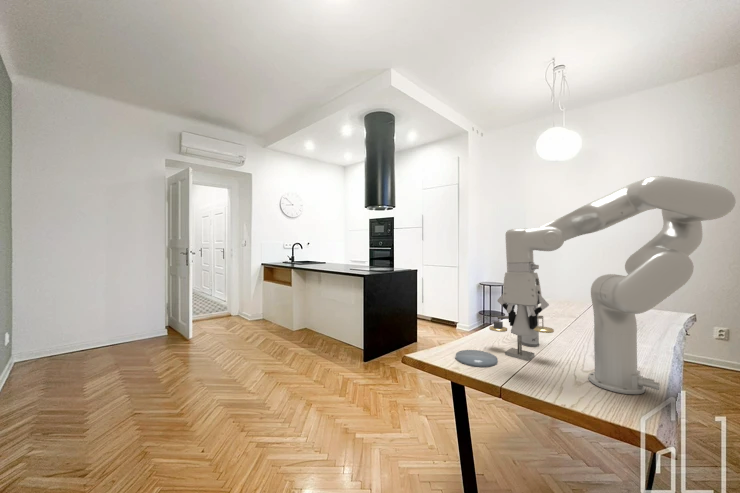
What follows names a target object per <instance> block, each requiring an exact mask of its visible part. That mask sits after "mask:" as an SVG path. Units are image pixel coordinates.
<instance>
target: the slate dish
mask: <svg viewBox="0 0 740 493" xmlns="http://www.w3.org/2000/svg"><path fill="white" fill-rule="evenodd" d="M498 359H499V358H498V357H497V356H496V355H495V354H493V353H491V352H487V351H484V350H478V349H477V350H476V349H464V350H458V351H457V352H456V353H455V360H456V361H457V362H459V363H461V364H462V365H466V366H470V367H475V368H491V367H495V366H497V365H498V361H499V360H498Z"/></svg>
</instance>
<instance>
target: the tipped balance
mask: <svg viewBox="0 0 740 493" xmlns="http://www.w3.org/2000/svg"><path fill="white" fill-rule="evenodd" d="M537 319H539V320H540V319H541V320H542V322H541V323H542V326H540V325H539V326H536V328H534V330H535V331H537V332H539V333H543V334H551V333H554V332H555V330H554V328H551V327H548V326H544V315H538V316H537ZM501 320H509V318H508V315H504V316H501V315H498V316H497V320H495V321H493V325H490V326H488V327H489V330H490V331H492V332H498V333H505V332H508V328H507V327H506V326H504V324H503V321H501ZM516 336H517V343H516V344H517V345H516V346H517V348H515V347H510V348H509V349H506V350H505V352H504V354H505V356H508V357H512V358H517V359H519V360H520V359H521V360H525V361H530V360H531V359H533V358H534V357H535V355H536V354H535V352H532V351H528V350H525V349H524V350H523V344H522V336H519V335H516Z"/></svg>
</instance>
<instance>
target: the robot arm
mask: <svg viewBox="0 0 740 493" xmlns="http://www.w3.org/2000/svg"><path fill="white" fill-rule="evenodd" d="M735 206H736V196H735V195H734V193H733V192H732V190H729V189H728V188H726V187H725V186H721V185H718V184H714V183H708V182H702V181H695V180H691V179H684V178H677V177H670V176H665V175H663V176H662V175H661V176H660V175H657V176H656V175H655V176H649V177H647V178H643V179H641V180H637V181H635V182H633V183H630V184H628V185H626V186H623V187H621V188H619V189H617V190H615V191H613V192H610V193H608V194H606V195H604V196H602V197H600V198H597V199H596V200H594V201H591V202H588V203H586V204H585V205H583V206H581V207H578V208H577V209H575V210H573V211H571V212H568V213H567V214H565V215H563V216H561V217H558V218H556V219H553V220H552V221H549V222H548V223H547V222H546V223H545V224H543V225H541V226H539V227H536V228H535V227H534V228H526V227H525V228H510V229H508V230H507V231H505V254H506V257H505V258H506V272H505V273H504V277H503V285H502V286H503V287H502V290H503V291H502V292H503V293H501V295H500V296H499V298H498V299H497V302H498V304H499V305H501V307H503V308H504V310H505V311H506V313H507V316H508V318H509V319H508V323H509V326H511V327H512V326H513V324H514V320H515V317H516V314H517V312H516V311H515V308H516V306H517V305H523V306H528V307H529V310H530V313H531V316H529V321H530V329H534V328H536V326H537V315H538V316H539V314H540V313H541V312H542V311H544V310H545V309H547V308H548V307H549V306H550V305H549V303H548V301H547V300H546V299H545V298H544V297H543V296H542V290H541V283H540V277H539V275H538V272H536V270H539V267H540V265H539V264H536V263H535V262H534V251H539V252H553V251H557V250H559V249H560V248H561V247H562V246H563V244H564V243H565V242H566V241H569V240H571V239H574V238H576V237H580V236H583V235H589V234H593V233H597V232H600V231H602V230H605V229H607V228H609V227H612V226H614V225H616V224H618V223H621V222H623V221H625V220H628V219H630V218H633V217H635V216H637V215H639V214H641V213H644V212H646V211H650V210H651V211H652V210H655V209H657V210H661V216H662V221H663V225H662V228H661V230H660V231H659V232H658V233H657V234H656V235H655V236H654V237H652V239H650V240H649V241H648V242H646V243H645V244H644V245H643V246H641V247H640V248H639V249H638V250H636V251H635V252H634V253H632V254H631V255H630V256H629V257H628V258H627V259H626V260H625V262H624V270H625V272H626V274H627V275H622V274H615V273H608V274H602V275H600V276H598V277H597V278H595V280H594V281H593V282H592V284H591V287H590V297H591V304H592V310H593V326H594V327H593V339H594V340H593V341H594V344H593V345H594V347H593V348H594V349H593V350H594V351H593V352H594V355H593V356H594V371H592V372H590V373H588V376H587V378H588V380H589V382H590V383H592V384H594V385H595V386H597V387H599V388H601V389H605V390H607V391H611V392H614V393H619V394H623V395H641V394H644V393H645V392H646V388H649V389H652V390H656V391H660V390H661V383H660V382H658V381H655V379H653V378H650V377H649V378H648V377H644V376H643V375H641V370H638V335H637V334H638V323H637V317H636V315H639V314H644V313H646V312H648V311H650V310H652V309H653V308H655V307H656V306H658V305H659V304H661V303H662V302H663V301H665V300H666V299H667V298H668V297H670V296H672V295H673V294H674V293H676V291H679V289H681V288H682V287H683V286H685V285H686V284H687V283H688V282H689V281H690V279H691V278H692V276H693V273H694V263H693V261H692V259H691V257H690V256H691V255H692V254H693V253H694V252H695V251H696V250H697V249H698V248H699V247H700V245H701V244H702V241H703V225H702V222H704V221H712V220H717V219H721V218H723V217H726V216H727V215H729V213H731V212H733V210H734V208H735ZM537 304H538V305H539V306H538V308H537V307H536V305H537Z"/></svg>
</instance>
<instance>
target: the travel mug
mask: <svg viewBox="0 0 740 493" xmlns="http://www.w3.org/2000/svg"><path fill="white" fill-rule="evenodd" d="M536 307H537V308H538V307H539V304H537V305H536ZM527 312H528V316H531V313H530V310H529V307H528V306H527ZM537 316H539V314H538V315H537ZM539 320H540V319H537V326H540V325H539V324H540V322H539ZM535 333H536V335H534V336H522V346H525V347H530V348H532V347H533V348H534V347H535V348H536V347H538V346H540V342H539V341H540V338H539V337H540V336H539V335H540V332H537V331H535Z"/></svg>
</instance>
